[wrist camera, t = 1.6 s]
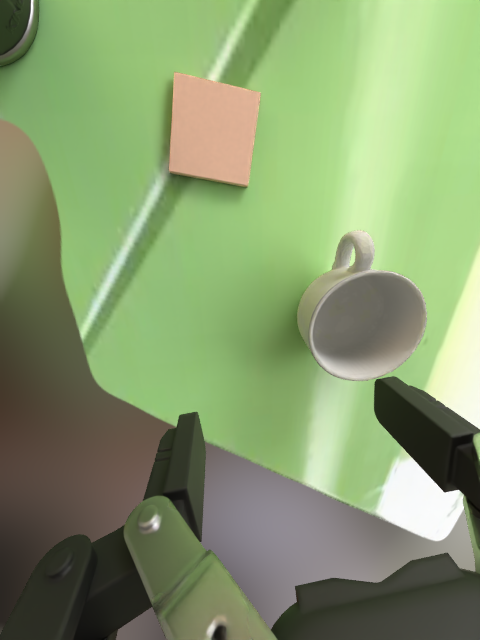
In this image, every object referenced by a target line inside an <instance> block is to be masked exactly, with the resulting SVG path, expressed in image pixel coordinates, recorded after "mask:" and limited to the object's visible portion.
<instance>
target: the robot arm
mask: <svg viewBox="0 0 480 640" xmlns="http://www.w3.org/2000/svg"><path fill="white" fill-rule="evenodd" d="M38 22H39V2H38V0H0V66H3V65H7V64H10V63H12V62H14V61H16V60H17V59H19V58H20V57H21V56H23V55H24V54H25V53H26V51H27V50H28V49H29V47H30V46H31V44H32V42H33V40H34V38H35V35H36V32H37V28H38ZM374 411H375V415H376V417H377V419H378V421H379V422H380V424H381V425H382V426H383V427H384V428H385V429H386V430H387V431H388V432H389V433H390V434H391V435H392V437H393V438H394V439H395V440H396V441H397V442H398V443H399V444H400V445H401V446H402V447H403V448H404V449H405V451H406V452H407V453H408V454H409V455H410V456H411V457H412V458H413V459H414V460H415V461H416V462H417V463H418V464H419V466H420V467H421V468H422V469H423V470H424V471H425V472H426V473H427V474H428V475H429V476H430V477H431V478H432V480H433V481H434V482H435V483H436V484H437V485H438V486H439V487H440V488H441V489H442V490H443V491H444V492H449V491H454V490H460V491H461V492H462V493H463V494H464V497H463V505H464V510H465V514H466V519H467V524H468V529H469V534H470V538H471V543H472V548H473V553H474V558H475V568H476V572H473V571H470V570H465V569H460V568H459V567H458V566H457V564H456V563H455V562H454V561H453V559H452V558H451V557H450V555H449V554H448V553H444V554H440V555H435V556H431V557H426V558H421V559H417V560H412V561H410V562H409V563H407V564H406V565H404V566H403V567H402V568H400V569H399V570H397V571H396V572H394V573H393V574H392V575H390V576H389V577H387V578H386V579H385V580H383V581H382V582H379V583H373V582H364V581H356V580H348V579H339V578H330V579H326V580H322V581H317V582H312V583H308V584H303V585H298V586H295V590H296V597H297V602H296V603H295V604H293V605H292V606H290V607H289V608H288V609H287V610H286V611H285V612H284V613H283V614H282V615H281V617H280V618H279V619H278V620H277V621H276V623H275V624H274V625H273V627H272V629H271V630H270V629H269V627H268V626H267V624H266V623H265V622H264V621H263V619H262V618H261V616H260V615H259V613H258V612H257V611H256V609H255V608H254V606H253V605H252V604H251V602H250V601H249V600H248V598H247V597H246V596H245V594H244V593H243V591H242V590H241V589H240V587H239V586H238V585H237V583H236V582H235V581H234V579H233V578H232V576H231V575H230V574H229V572H228V571H227V569H226V568H225V567H224V565H223V564H222V563H221V561H220V560H219V559H218V557H217V556H216V555H215V554H214V553H213V551H211V550H208V551H206V550H205V549H204V548H203V546H202V545H201V543H200V542H201V539H202V518H203V499H204V479H205V459H206V451H205V441H204V437H203V432H202V428H201V424H200V419H199V415H198V413H197V412H192V413H187V414H181V415H180V416H179V419H178V424H177V428H174V429H169V430H168V431H167V432H166V433H165V435H164V436H163V437H162V439H161V440H160V444H159V447H158V453H157V454H156V458H155V462H154V465H153V468H152V472H151V475H150V479H149V482H148V486H147V489H146V492H145V496H144V499H143V502H142V503H140V504H139V505H138V506H137V507H136V508H135V509H134V510H133V511H132V513H131V514H130V515H129V517H128V519H127V521H126V524H125V525H124V526H122V527H121V528H119V529H117V530H116V531H114V532H112V533H110V534H108V535H106V536H104V537H102V538H100V539H98V540H97V541H95V542H93V543H91V541H90V539H89V538H88V537H87V536H85V535H74V536H71V537H68V538H66V539H64V540H63V541H61V542H60V543H58V544H57V545H55V546H54V547H53V548H52V549H51V550H50V551H49V552H48V553H47V554H46V555H45V556H44V557H43V558H42V559H41V560H40V562H39V563H38V565H37V566H36V567H35V569H34V571H33V573H32V574H31V576H30V578H29V580H28V582H27V584H26V586H25V588H24V590H23V592H22V594H21V596H20V598H19V599H18V601H17V603H16V605H15V607H14V609H13V611H12V613H11V615H10V617H9V619H8V621H7V623H6V625H5V626H4V628H3V630H2V632H1V634H0V640H116V636H117V631H118V629H119V628H121V627H122V626H124V625H125V624H127V623H128V622H130V621H131V620H133V619H134V618H136V617H137V616H139V615H140V614H142V613H143V612H145V611H146V610H148V609H149V608H151V607H153V609H154V612H155V614H156V616H157V619H158V621H159V624H160V626H161V629H162V631H163V633H164V636H165V638H166V640H480V429H478V428H477V427H475V426H474V425H472V424H471V423H470V422H468V421H467V420H465V419H464V418H462V417H461V416H459V415H458V414H457V413H455V412H454V411H452V410H451V409H449V408H448V407H445V405H444V404H442V403H441V402H439V401H436V399H435V398H433V397H432V396H431V395H429V394H428V393H426V392H425V391H423V390H420V389H418V388H415V387H413V386H408V385H407V384H405V383H404V382H403V381H401V380H400V379H398V378H397V377H394V376H393V377H387V378H382V379H377V380H376V381H375V389H374Z"/></svg>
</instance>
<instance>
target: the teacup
mask: <svg viewBox="0 0 480 640" xmlns="http://www.w3.org/2000/svg"><path fill="white" fill-rule="evenodd" d="M353 247H354V248H355V254H356V256H355V262H354V264H353V265H352V266H349V263H350V258H351V254H352V250H353ZM374 252H375V249H374V243H373V240H372V238H371V236H370V235H369V234H368V233H366V232H365V231H361V230H356V231H352V232H349V233H347V234H345V235H344V236H343V237H342V238H341V240H340V242H339V245H338V248H337V252H336V257H335V262H334V264H333V266H332V270H331V271H329V272H326V273H324V274H323V275H321V276H320V277H318V278H317V279H315V280H314V281H313V282H312V283H311V284H310V285H309V286H308V288H307V289H306V290H305V292H304V294H303V295H302V297H301V300H300V302H299V306H298V311H297V322H298V328H299V331H300V334H301V336H302V338H303V340H304V341H305V343H306V345H307V346H308V348H309V349H310V351H311V352H312V354H313V356H314V358H315V360H316V361H317V363H318V364H319V365H320V366H321V367H322V368H323V369H324V370H325V371H327V372H328V373H330V374H331V375H333V376H335V377H338V378H341V379H345V380H352V381H368V380H370V379H375V378H378V377H381V376H384V375H385V374H387V373H390V372H392V371H393V370H395V369H396V368H398V367H399V366H400V365H402V364H403V363H404V362H405V361H406V360H407V359H408V358H409V357H410V356H411V354H412V353H413V352H414V351H415V350H416V348H417V346H418V345H419V343H420V341H421V339H422V337H423V334H424V332H425V327H426V322H427V312H426V303H425V301H424V298H423V295H422V293H421V291H420V290H419V289H418V288H417V286H416V285H415V284H414V283H413V282H412V281H411V280H409V279H408V278H406V277H404V276H403V275H401V274H398V273H395V272H391V271H383V270H374V269H370V268H371V265H372V263H373V260H374Z"/></svg>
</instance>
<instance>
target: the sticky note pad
mask: <svg viewBox="0 0 480 640" xmlns="http://www.w3.org/2000/svg"><path fill="white" fill-rule="evenodd" d="M260 96H261V93H260V92H256V91H252V90H248V89H244V88H240V87H236V86H232V85H227V84H223V83H219V82H215V81H211V80H207V79H203V78H198V77H194V76H190V75H186V74H182V73H178V72H174V86H173V104H172V122H171V140H170V158H169V172H170V173H172V174H177V175H182V176H188V177H193V178H199V179H204V180H209V181H215V182H220V183H226V184H231V185H236V186H242V187H248V183H249V176H250V169H251V161H252V154H253V147H254V140H255V132H256V125H257V118H258V110H259V103H260Z"/></svg>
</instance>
